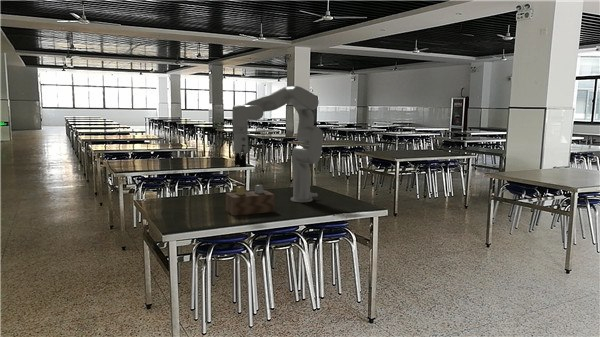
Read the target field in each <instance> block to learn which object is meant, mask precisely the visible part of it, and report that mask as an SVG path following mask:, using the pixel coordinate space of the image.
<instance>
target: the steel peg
mask: <svg viewBox="0 0 600 337" xmlns="http://www.w3.org/2000/svg"><path fill="white" fill-rule="evenodd" d="M263 190H264V185H262V184H256V185H254V191H255V194H263Z"/></svg>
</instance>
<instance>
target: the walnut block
mask: <svg viewBox="0 0 600 337" xmlns="http://www.w3.org/2000/svg"><path fill="white" fill-rule="evenodd" d="M225 211H226V212H227V213H229V214H230V215H232V216H242V215H254V214H262V213H265V214H266V213H274V212H275V193H272V192H270V191H268V190H264V189H263V194H255V190H253V191H248V192H245V195H241V196H237V192H236V193H230V192H226V193H225Z"/></svg>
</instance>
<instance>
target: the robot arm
mask: <svg viewBox="0 0 600 337" xmlns="http://www.w3.org/2000/svg"><path fill="white" fill-rule="evenodd" d="M319 102H320V101H319V98H318V97H317V95H316V94H315V93H313V92H311V91H309V90H307V89H306V88H303V87H302V86H299V85H295V86H294V85H293V86H291V85H288V86H284V87H282V88H280V89H278V90H276V91H274V92H272V93H270V94H268V95H265V96H261V97H259V98H256V99H253V100H250V101H248V102H246V103H244V104H242V105H233V106H232V109H231V110H232V111H231V112H232V134H233V152H234V165H235V166H239V168H246V167H247V154H249V137H248V133H249V132H248V131H249V130H248V129H249V124H248V123H249V121H258V120H261V119H262V118H263V116H264V112H265V113H266V112H272V111H276V110H278V109H280V108H281V107H283V106H286V105H288V104H289V103H290V104H291V105H292V107H293V108H294V109H295V111H296V113H297V115H298V124H297V132H296V133H297V134H296V139H297V141H298V142H299V143H302V144H308V145H300V144H299V145H296V146H294V148H292V151H291V158H292V164H293V165H292V166H293V175H292V176H293V179H292V181H293V182H292V183H293V187H292V188H293V189H292V190H293V191H292V192H293V193H292V195H293V196H292V197H290V202H294V203H309V202H311V203H312V202H313V197H314V198H315V197H318V195H319V194H318V192H315V193H314V192H311V167H310V164H312V165H313V164H317V163H318V162H319V161H320V160H321V157H322V150H323V143H324V133H323V131H322V129H321V128H320V127H316V126H314V122H315V120H314V119H315V117H314V112H313V111H314V110H316V109H317V108H318V106H319V104H320V103H319Z"/></svg>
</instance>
